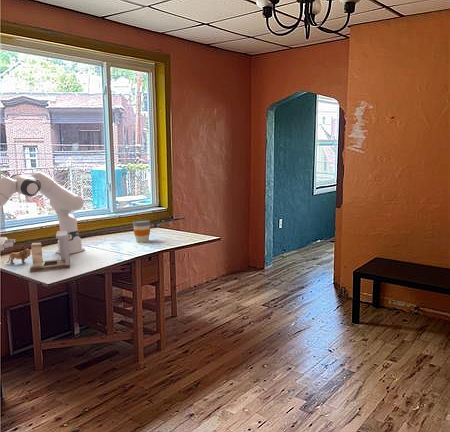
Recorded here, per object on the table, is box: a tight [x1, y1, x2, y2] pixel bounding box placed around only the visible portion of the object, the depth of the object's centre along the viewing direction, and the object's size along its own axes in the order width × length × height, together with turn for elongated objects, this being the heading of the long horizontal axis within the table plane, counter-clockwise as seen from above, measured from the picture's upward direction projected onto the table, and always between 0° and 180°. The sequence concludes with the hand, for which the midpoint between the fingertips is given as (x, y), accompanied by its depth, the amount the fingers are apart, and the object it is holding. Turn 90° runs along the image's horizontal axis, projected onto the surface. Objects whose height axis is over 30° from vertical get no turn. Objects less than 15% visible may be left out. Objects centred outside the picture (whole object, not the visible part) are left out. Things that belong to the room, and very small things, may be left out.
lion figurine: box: [6, 248, 32, 265], centre depth 273 cm, size 15×5×9 cm, turn 96°
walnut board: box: [29, 258, 71, 273], centre depth 265 cm, size 16×21×2 cm
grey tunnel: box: [55, 230, 71, 265], centre depth 265 cm, size 16×6×18 cm, turn 18°
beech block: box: [30, 242, 44, 265], centre depth 261 cm, size 5×5×12 cm
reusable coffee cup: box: [132, 219, 151, 244], centre depth 328 cm, size 13×13×15 cm
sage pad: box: [30, 262, 45, 268], centre depth 262 cm, size 9×7×1 cm
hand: (14, 242), depth 258 cm, fingers open, 8 cm apart
